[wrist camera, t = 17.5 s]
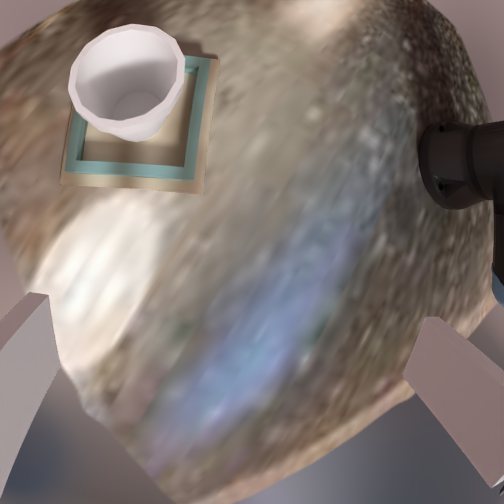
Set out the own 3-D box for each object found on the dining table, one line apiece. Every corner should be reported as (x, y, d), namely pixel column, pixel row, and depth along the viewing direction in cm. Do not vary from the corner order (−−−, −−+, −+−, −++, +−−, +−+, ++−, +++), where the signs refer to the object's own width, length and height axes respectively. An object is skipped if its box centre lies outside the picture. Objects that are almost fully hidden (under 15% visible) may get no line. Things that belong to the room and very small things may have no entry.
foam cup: (125, 69, 31) (110, 12, 19) (192, 97, 34) (206, 46, 22) (85, 138, 32) (48, 106, 19) (154, 168, 34) (147, 147, 22)
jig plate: (219, 63, 35) (223, 51, 32) (201, 194, 37) (204, 193, 33) (88, 54, 31) (82, 42, 27) (62, 184, 32) (52, 182, 29)
